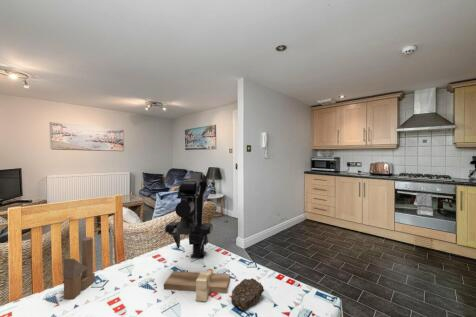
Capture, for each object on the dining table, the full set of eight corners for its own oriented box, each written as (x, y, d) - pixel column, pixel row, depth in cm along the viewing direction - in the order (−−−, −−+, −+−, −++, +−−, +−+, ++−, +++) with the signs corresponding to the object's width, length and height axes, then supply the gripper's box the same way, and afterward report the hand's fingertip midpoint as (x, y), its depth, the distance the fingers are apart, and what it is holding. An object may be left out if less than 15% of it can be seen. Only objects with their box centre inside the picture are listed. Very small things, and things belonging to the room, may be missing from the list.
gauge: (206, 278, 85) (206, 261, 85) (214, 278, 85) (214, 261, 85) (196, 300, 71) (196, 280, 71) (206, 301, 71) (206, 281, 71)
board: (173, 275, 87) (173, 271, 87) (230, 279, 85) (230, 274, 85) (163, 289, 78) (163, 283, 78) (226, 293, 76) (226, 287, 76)
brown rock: (251, 286, 80) (251, 273, 80) (268, 301, 72) (268, 286, 72) (225, 296, 74) (225, 282, 74) (240, 314, 65) (240, 298, 66)
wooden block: (63, 299, 72) (63, 247, 72) (86, 281, 83) (86, 236, 83) (73, 299, 72) (73, 247, 72) (95, 281, 83) (95, 236, 83)
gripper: (158, 215, 79) (158, 256, 79) (206, 216, 77) (206, 258, 77) (170, 208, 90) (170, 244, 90) (213, 209, 88) (213, 246, 88)
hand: (189, 248), depth 86 cm, fingers open, 9 cm apart
